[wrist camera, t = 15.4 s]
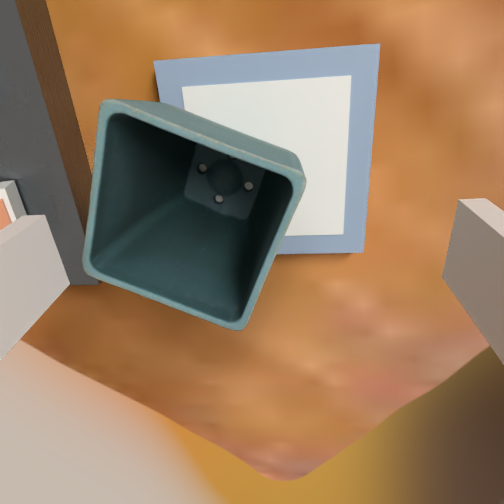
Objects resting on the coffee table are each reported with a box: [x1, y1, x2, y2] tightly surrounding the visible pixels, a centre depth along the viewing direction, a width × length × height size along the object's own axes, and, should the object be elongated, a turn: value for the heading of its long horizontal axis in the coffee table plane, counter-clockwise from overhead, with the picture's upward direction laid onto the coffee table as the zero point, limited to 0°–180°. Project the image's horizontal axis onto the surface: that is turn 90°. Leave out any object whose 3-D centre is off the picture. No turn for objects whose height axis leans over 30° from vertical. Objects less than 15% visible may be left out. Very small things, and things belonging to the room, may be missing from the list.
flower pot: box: [82, 99, 307, 331], centre depth 20 cm, size 9×9×9 cm
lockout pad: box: [153, 43, 380, 254], centre depth 24 cm, size 13×13×2 cm
